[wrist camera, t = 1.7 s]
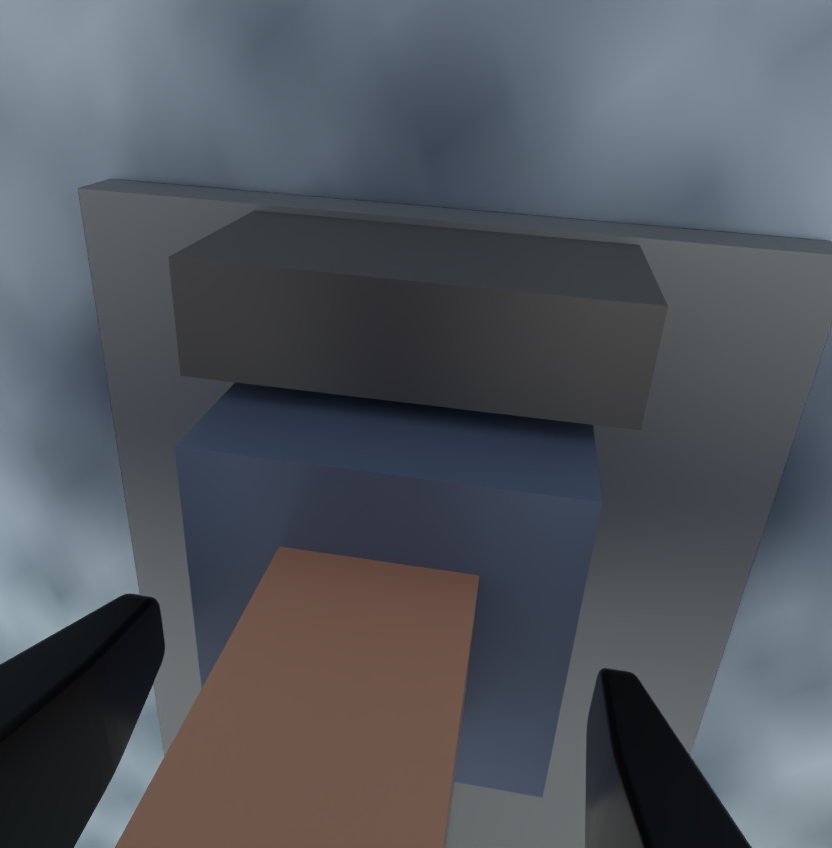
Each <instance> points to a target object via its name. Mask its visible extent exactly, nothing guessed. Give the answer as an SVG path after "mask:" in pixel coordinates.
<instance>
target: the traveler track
mask: <svg viewBox="0 0 832 848" xmlns="http://www.w3.org/2000/svg"><path fill="white" fill-rule="evenodd" d="M78 193H79V200H80V206H81V213H82V219H83V226H84V232H85V239H86V246H87V252H88V259H89V265H90V272H91V278H92V285H93V291H94V298H95V304H96V311H97V317H98V324H99V331H100V337H101V344H102V350H103V357H104V363H105V370H106V376H107V383H108V389H109V396H110V402H111V409H112V416H113V422H114V429H115V435H116V442H117V448H118V455H119V461H120V468H121V474H122V481H123V487H124V494H125V501H126V507H127V514H128V520H129V527H130V533H131V540H132V546H133V553H134V559H135V566H136V572H137V579H138V586H139V592H140V595H142V596H149V597H153V598H155V599H156V600H157V601H158V603H159V605H160V610H161V617H162V625H163V632H164V639H165V653H164V658H163V661H162V664H161V667H160V669H159V671H158V674H157V676H156V678H155V681H154V683H153V684H154V690H155V697H156V703H157V710H158V716H159V723H160V729H161V736H162V743H163V749H164V756H165V755H166V753H167V751H168V750H169V748H170V746H171V744H172V742H173V740H174V739H175V737H176V735H177V733H178V731H179V729H180V728H181V726H182V724H183V722H184V720H185V718H186V717H187V715H188V713H189V711H190V709H191V707H192V706H193V704H194V702H195V700H196V698H197V696H198V695H199V693H200V691H201V689H202V688H201V679H200V670H199V661H198V652H197V643H196V634H195V625H194V617H193V608H192V599H191V590H190V581H189V572H188V563H187V554H186V545H185V536H184V527H183V518H182V509H181V500H180V492H179V483H178V474H177V465H176V456H175V447H174V446H175V445H176V444H177V443H178V442H179V441H180V440H181V439H182V438H183V437H184V436H185V435H186V434H187V433H188V432H189V431H190V430H191V428H192V427H193V426H194V425H195V424H196V423H197V422H198V421H199V420H200V419H201V418H202V417H203V416H204V415H205V414H206V413H207V412H208V411H209V409H210V408H211V407H212V406H213V405H214V404H215V403H216V402H217V401H218V400H219V399H220V398H221V397H222V396H223V395H224V394H225V393H226V392H227V391H228V389H229V388H230V387H231V386H232V385H233V384H234V383H235V382H236V383H244V384H253V385H261V386H270V387H278V388H286V389H295V390H303V391H312V392H320V393H329V394H337V395H345V396H354V397H362V398H371V399H379V400H388V401H396V402H404V403H413V404H421V405H430V406H438V407H447V408H455V409H463V410H472V411H480V412H489V413H497V414H506V415H514V416H522V417H531V418H539V419H548V420H556V421H565V422H573V423H581V424H590V425H593V427H594V436H595V444H596V453H597V462H598V470H599V479H600V487H601V496H602V506H601V511H600V516H599V521H598V526H597V531H596V536H595V541H594V546H593V551H592V555H591V560H590V565H589V570H588V575H587V580H586V585H585V590H584V595H583V600H582V605H581V610H580V615H579V620H578V625H577V630H576V635H575V640H574V645H573V650H572V654H571V659H570V664H569V669H568V674H567V679H566V684H565V689H564V694H563V699H562V704H561V709H560V714H559V719H558V724H557V729H556V734H555V739H554V744H553V748H552V753H551V758H550V763H549V768H548V773H547V778H546V783H545V788H544V793H543V798H542V797H536V796H531V795H525V794H520V793H514V792H509V791H503V790H497V789H492V788H486V787H481V786H475V785H469V784H464V783H458V782H454V788H453V796H452V804H451V811H450V819H449V827H448V834H447V842H446V848H585V801H586V731H587V720H588V714H589V710H590V705H591V701H592V696H593V692H594V688H595V683H596V679H597V675H598V672H599V671H600V670H601V669H603V668H609V669H615V670H621V671H628V672H632V673H633V674H635V675H636V676H637V677H638V679H639V680H640V682H641V683H642V685H643V686H644V688H645V689H646V691H647V692H648V694H649V695H650V697H651V698H652V700H653V701H654V703H655V704H656V706H657V707H658V709H659V710H660V712H661V713H662V714H663V716H664V717H665V719H666V720H667V722H668V723H669V725H670V726H671V728H672V729H673V731H674V732H675V734H676V735H677V737H678V738H679V740H680V741H681V743H682V744H683V746H684V747H685V749H686V750H687V752H688V753H689V755H690V753H691V750H692V747H693V744H694V741H695V738H696V735H697V732H698V729H699V726H700V723H701V720H702V717H703V713H704V710H705V707H706V704H707V701H708V698H709V695H710V692H711V689H712V686H713V683H714V680H715V677H716V674H717V671H718V668H719V665H720V662H721V659H722V656H723V653H724V650H725V647H726V644H727V641H728V638H729V635H730V631H731V628H732V625H733V622H734V619H735V616H736V613H737V610H738V607H739V604H740V601H741V598H742V595H743V592H744V589H745V586H746V583H747V580H748V577H749V574H750V571H751V568H752V565H753V562H754V559H755V556H756V553H757V550H758V546H759V543H760V540H761V537H762V534H763V531H764V528H765V525H766V522H767V519H768V516H769V513H770V510H771V507H772V504H773V501H774V498H775V495H776V492H777V489H778V486H779V483H780V480H781V477H782V474H783V471H784V468H785V464H786V461H787V458H788V455H789V452H790V449H791V446H792V443H793V440H794V437H795V434H796V431H797V428H798V425H799V422H800V419H801V416H802V413H803V410H804V407H805V404H806V401H807V398H808V395H809V392H810V389H811V386H812V383H813V379H814V376H815V373H816V370H817V367H818V364H819V361H820V358H821V355H822V352H823V349H824V346H825V343H826V340H827V337H828V334H829V331H830V328H831V325H832V242H831V241H823V240H811V239H800V238H788V237H776V236H765V235H753V234H742V233H730V232H719V231H707V230H695V229H684V228H672V227H661V226H649V225H637V224H626V223H614V222H603V221H591V220H580V219H568V218H556V217H545V216H533V215H522V214H510V213H498V212H487V211H475V210H464V209H452V208H441V207H429V206H417V205H406V204H394V203H383V202H371V201H359V200H348V199H336V198H325V197H313V196H302V195H290V194H278V193H267V192H255V191H244V190H232V189H220V188H209V187H197V186H186V185H174V184H163V183H151V182H139V181H128V180H116V179H108V180H105V181H101V182H98V183H94V184H91V185H88V186H84V187H81V188H78Z"/></svg>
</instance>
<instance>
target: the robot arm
mask: <svg viewBox="0 0 832 848" xmlns="http://www.w3.org/2000/svg"><path fill="white" fill-rule="evenodd" d="M164 653H165V639H164V632H163V625H162V617H161V610H160V605H159V603H158V601H157V600H156V599H155V598H153V597H149V596H142V595H136V594H125V595H122V596H120V597H118V598H116V599H115V600H113V601H111V602H109V603H108V604H106V605H104V606H102V607H101V608H99V609H97V610H95V611H94V612H92V613H90V614H88V615H87V616H85V617H83V618H81V619H79V620H78V621H76V622H74V623H72V624H71V625H69V626H67V627H65V628H64V629H62V630H60V631H58V632H57V633H55V634H53V635H51V636H50V637H48V638H46V639H44V640H43V641H41V642H39V643H37V644H35V645H34V646H32V647H30V648H28V649H27V650H25V651H23V652H21V653H20V654H18V655H16V656H14V657H13V658H11V659H9V660H7V661H6V662H4V663H2V664H0V848H74V846H75V844H76V842H77V841H78V839H79V837H80V835H81V833H82V832H83V830H84V828H85V826H86V824H87V823H88V821H89V819H90V817H91V815H92V814H93V812H94V810H95V808H96V806H97V805H98V803H99V801H100V799H101V797H102V796H103V794H104V792H105V790H106V788H107V786H108V784H109V782H110V781H111V779H112V777H113V775H114V773H115V771H116V769H117V766H118V764H119V762H120V760H121V758H122V756H123V753H124V751H125V749H126V746H127V744H128V742H129V739H130V737H131V735H132V732H133V730H134V728H135V725H136V723H137V720H138V718H139V716H140V713H141V711H142V709H143V706H144V704H145V702H146V699H147V697H148V695H149V692H150V690H151V688H152V685H153V683H154V681H155V678H156V676H157V674H158V671H159V669H160V667H161V664H162V661H163V658H164ZM585 848H752V847H751V846H750V844H749V843H748V841H747V840H746V838H745V837H744V835H743V834H742V832H741V831H740V830H739V828H738V827H737V825H736V824H735V822H734V821H733V819H732V818H731V816H730V815H729V813H728V812H727V810H726V809H725V807H724V806H723V804H722V803H721V801H720V800H719V798H718V797H717V795H716V794H715V792H714V791H713V789H712V788H711V786H710V785H709V783H708V782H707V780H706V779H705V777H704V776H703V774H702V773H701V771H700V770H699V768H698V767H697V765H696V764H695V762H694V761H693V759H692V758H691V756H690V755H689V753H688V752H687V750H686V749H685V747H684V746H683V744H682V743H681V741H680V740H679V738H678V737H677V735H676V734H675V732H674V731H673V729H672V728H671V726H670V725H669V723H668V722H667V720H666V719H665V717H664V716H663V714H662V713H661V712H660V710H659V709H658V707H657V706H656V704H655V703H654V701H653V700H652V698H651V697H650V695H649V694H648V692H647V691H646V689H645V688H644V686H643V685H642V683H641V682H640V680H639V679H638V677H637V676H636V675H635V674H633V673H632V672H628V671H621V670H615V669H609V668H603V669H601V670H600V671H599V672H598V675H597V679H596V683H595V688H594V692H593V696H592V701H591V705H590V710H589V714H588V720H587V731H586V801H585Z"/></svg>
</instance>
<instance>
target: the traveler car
mask: <svg viewBox="0 0 832 848" xmlns="http://www.w3.org/2000/svg"><path fill="white" fill-rule="evenodd" d="M174 447H175V456H176V465H177V474H178V483H179V492H180V500H181V509H182V518H183V527H184V536H185V545H186V554H187V563H188V572H189V581H190V590H191V599H192V608H193V617H194V625H195V634H196V643H197V652H198V661H199V670H200V679H201V688H202V689H201V691H200V693H199V695H198V696H197V698H196V700H195V702H194V704H193V706H192V707H191V709H190V711H189V713H188V715H187V717H186V718H185V720H184V722H183V724H182V726H181V728H180V729H179V731H178V733H177V735H176V737H175V739H174V740H173V742H172V744H171V746H170V748H169V750H168V751H167V753H166V755H165V757H164V759H163V761H162V762H161V764H160V766H159V768H158V770H157V772H156V773H155V775H154V777H153V779H152V781H151V783H150V784H149V786H148V788H147V790H146V792H145V794H144V795H143V797H142V799H141V801H140V803H139V805H138V806H137V808H136V810H135V812H134V814H133V816H132V817H131V819H130V821H129V823H128V825H127V827H126V828H125V830H124V832H123V834H122V836H121V838H120V839H119V841H118V843H117V845H116V847H115V848H446V842H447V834H448V827H449V819H450V811H451V804H452V796H453V788H454V782H458V783H464V784H469V785H475V786H481V787H486V788H492V789H497V790H503V791H509V792H514V793H520V794H525V795H531V796H536V797H542V798H543V793H544V788H545V783H546V778H547V773H548V768H549V763H550V758H551V753H552V748H553V744H554V739H555V734H556V729H557V724H558V719H559V714H560V709H561V704H562V699H563V694H564V689H565V684H566V679H567V674H568V669H569V664H570V659H571V654H572V650H573V645H574V640H575V635H576V630H577V625H578V620H579V615H580V610H581V605H582V600H583V595H584V590H585V585H586V580H587V575H588V570H589V565H590V560H591V555H592V551H593V546H594V541H595V536H596V531H597V526H598V521H599V516H600V511H601V506H602V496H601V487H600V479H599V470H598V462H597V453H596V444H595V436H594V427H593V425H590V424H581V423H573V422H565V421H556V420H548V419H539V418H531V417H522V416H514V415H506V414H497V413H489V412H480V411H472V410H463V409H455V408H447V407H438V406H430V405H421V404H413V403H404V402H396V401H388V400H379V399H371V398H362V397H354V396H345V395H337V394H329V393H320V392H312V391H303V390H295V389H286V388H278V387H270V386H261V385H253V384H244V383H236V382H235V383H234V384H233V385H232V386H231V387H230V388H229V389H228V391H227V392H226V393H225V394H224V395H223V396H222V397H221V398H220V399H219V400H218V401H217V402H216V403H215V404H214V405H213V406H212V407H211V408H210V409H209V411H208V412H207V413H206V414H205V415H204V416H203V417H202V418H201V419H200V420H199V421H198V422H197V423H196V424H195V425H194V426H193V427H192V428H191V430H190V431H189V432H188V433H187V434H186V435H185V436H184V437H183V438H182V439H181V440H180V441H179V442H178V443H177V444H176V445H175V446H174Z"/></svg>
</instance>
